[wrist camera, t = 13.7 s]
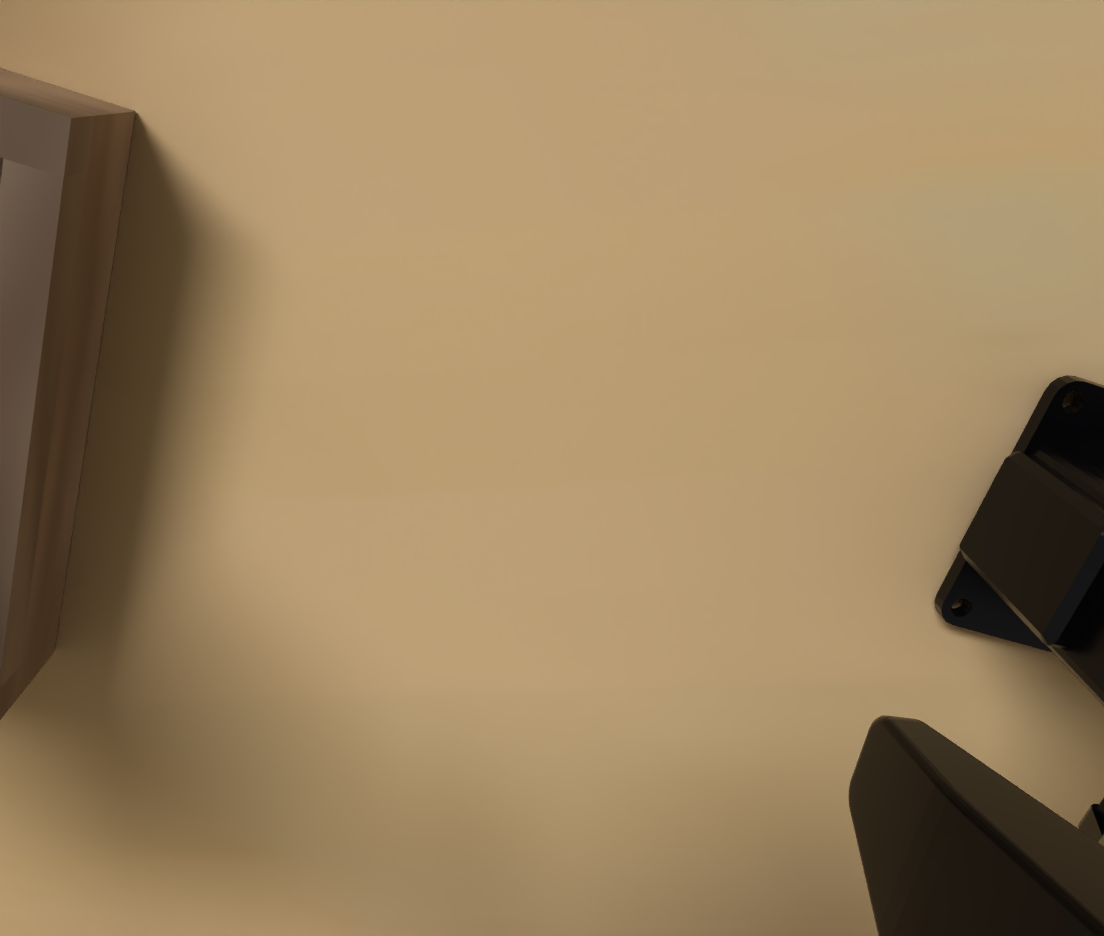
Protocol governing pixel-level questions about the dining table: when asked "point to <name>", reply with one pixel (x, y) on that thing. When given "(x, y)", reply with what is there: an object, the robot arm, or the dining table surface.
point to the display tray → (49, 341)
